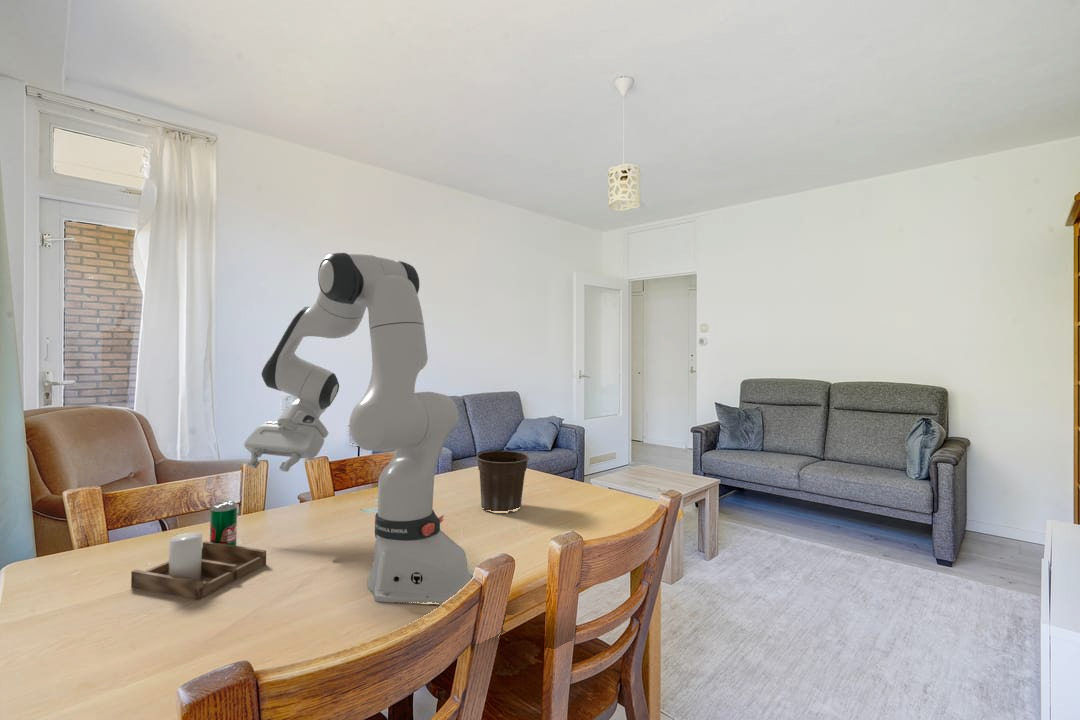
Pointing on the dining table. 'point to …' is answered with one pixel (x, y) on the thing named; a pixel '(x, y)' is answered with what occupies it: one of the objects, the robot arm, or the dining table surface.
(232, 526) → the soda can
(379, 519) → the robot arm
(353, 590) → the dining table surface
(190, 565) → the white rounded cylinder
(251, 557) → the divided compartment tray
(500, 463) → the plant pot
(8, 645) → the dining table surface
